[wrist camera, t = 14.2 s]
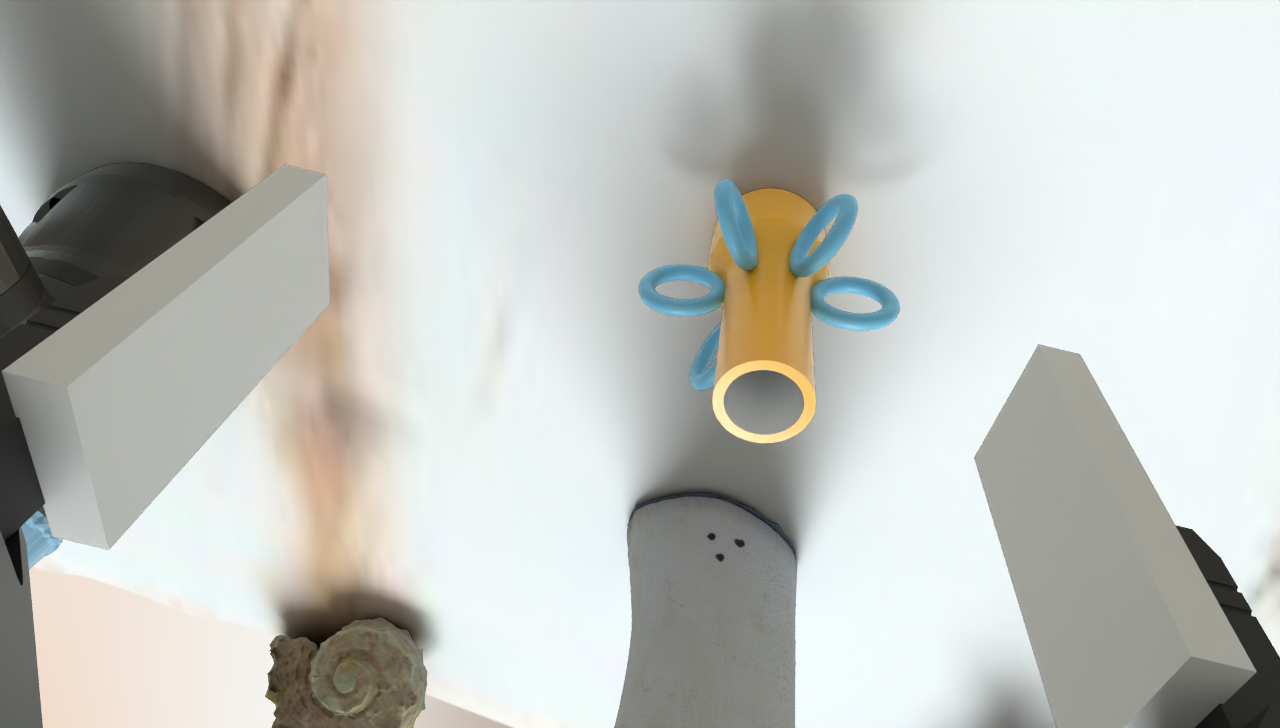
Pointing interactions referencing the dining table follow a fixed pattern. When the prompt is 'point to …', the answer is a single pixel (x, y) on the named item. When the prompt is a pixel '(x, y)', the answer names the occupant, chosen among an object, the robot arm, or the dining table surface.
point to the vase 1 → (768, 306)
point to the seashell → (348, 679)
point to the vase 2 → (709, 617)
